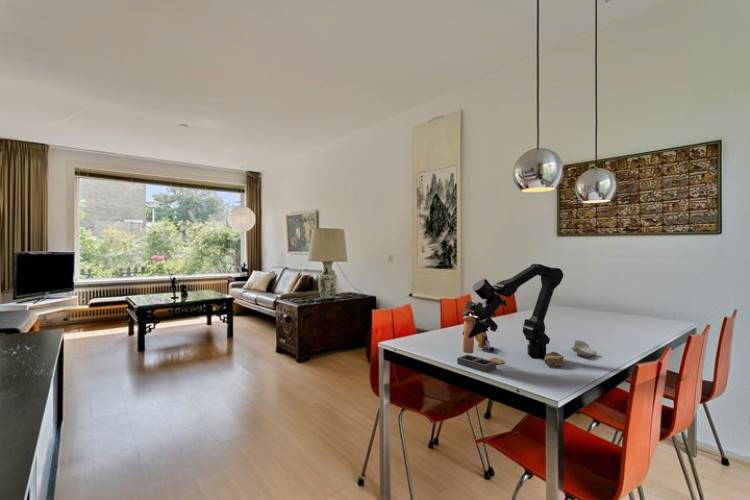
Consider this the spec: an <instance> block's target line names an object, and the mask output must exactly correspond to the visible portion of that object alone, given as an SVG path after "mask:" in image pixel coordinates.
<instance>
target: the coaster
mask: <svg viewBox="0 0 750 500" xmlns="http://www.w3.org/2000/svg"><path fill="white" fill-rule="evenodd" d="M484 359H487V360H490V361H494V362H496V366H498V365H503V364H504V363H505V360H504V359H503V358H499V357H486V358H484Z"/></svg>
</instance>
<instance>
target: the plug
mask: <svg viewBox="0 0 750 500" xmlns="http://www.w3.org/2000/svg"><path fill="white" fill-rule="evenodd" d="M462 316H463V315H462ZM462 320H463V331H464V335H463V340H462V341H463V345H462V346H463V347H462V352H463V353H465V354H474V346H475V343H474V342H475V336H474V337H472V338H469V337H468V335H469V333H470V332H471V330H472V329H473V327H474V321H475V320H476V317H474V316H463V317H462Z"/></svg>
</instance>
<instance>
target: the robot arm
mask: <svg viewBox="0 0 750 500" xmlns="http://www.w3.org/2000/svg"><path fill="white" fill-rule="evenodd" d="M537 276H539V277H540V282H541V287H540V291H539V294H538V297H537V300H536V303H535V306H534V309H533V311H532V315H531V317H530V318H529V319H528V318H525V319H524V321H523V325H522V327H521V328H522V333H523V335H524V336H525V339H526V341H528V344H527V355H529V357H531V358H532V359H545V358H544V357H545V355H546V354H547V345H549V344H550V340H551V338H550V337H549V336H548V335H547V334H546V332H545V331H546V325H545V319H546V315H547V312H548V310H549V306H550V302H551V300H552V298H553V294H554V290H555V289H556V288H557V287H558V286H559V285H560V284H561V282H562V281H563V278H564V272H563V270H562V269H561V268H559V267H550V266H547V265H544V264H541V263H532V264H531V265H530V266H528V267H527V268H525V269H523V270H522V271H519V273H517V274H516V275H513V276H512V277H511V278H507V279H503V280H500V281H498V282H497V283H495V284H494V285H492V284H491V283H490V282H489V280H487V279H486V278H482V279H481V280H479V281H478V282H476V283H474V285H472V290H473V291H474V293H475V294H476V295H477V296H478V297H479V298H480V299H481V300H484V302H483V303H482V302H481V301H476V302H473V301H470V300H467V301H466V304H465V307H464V308H465V310H463V311H462V313H461V315H462V316H474V317H476V320H475V321H474V327H473V329H472V330H471V332H470V333H469V335H468V337H469V338H472V337H474V338H475V336H476V335H478V334H481V333H483V332H486V333H487V332H489V330H490V331H492V332H493V333H495V332H497V330H498V327H499V326H498V325H499V324H497V323H496V322H495V321H494V320H493V318H492V317H496V316H497V314H496V312H497V310H498V309H500V306H503V307H507V306H508V305H507V300H506V299H504V298H511V297H512V296H513V295H515V294H516V292H517V291H518V289H519V288H520V287H521V286H523V285H524V284H526V283H527V282H529V281H530V280H531V279H533V278H535V277H537ZM502 297H503V298H502ZM462 336H464V330H463V331H462Z"/></svg>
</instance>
